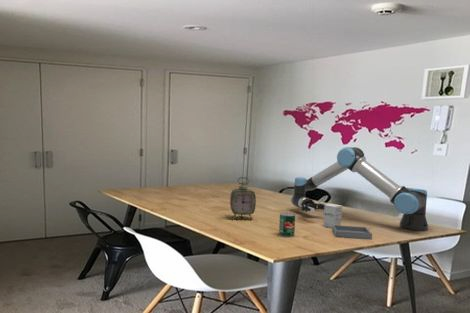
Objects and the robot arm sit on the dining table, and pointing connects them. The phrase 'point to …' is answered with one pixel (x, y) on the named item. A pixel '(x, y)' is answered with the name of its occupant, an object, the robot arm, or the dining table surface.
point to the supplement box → (332, 215)
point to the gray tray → (351, 232)
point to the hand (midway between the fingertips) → (323, 210)
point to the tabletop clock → (242, 200)
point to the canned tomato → (287, 224)
